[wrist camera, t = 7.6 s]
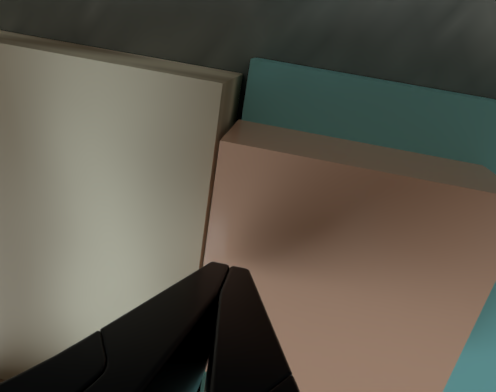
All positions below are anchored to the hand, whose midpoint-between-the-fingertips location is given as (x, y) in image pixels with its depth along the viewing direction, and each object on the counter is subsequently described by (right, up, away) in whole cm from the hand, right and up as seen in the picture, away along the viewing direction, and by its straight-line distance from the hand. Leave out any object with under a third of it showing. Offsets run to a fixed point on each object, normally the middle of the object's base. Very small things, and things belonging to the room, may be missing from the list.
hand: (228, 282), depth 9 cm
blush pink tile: (+3, 0, +3) cm, 4 cm away
